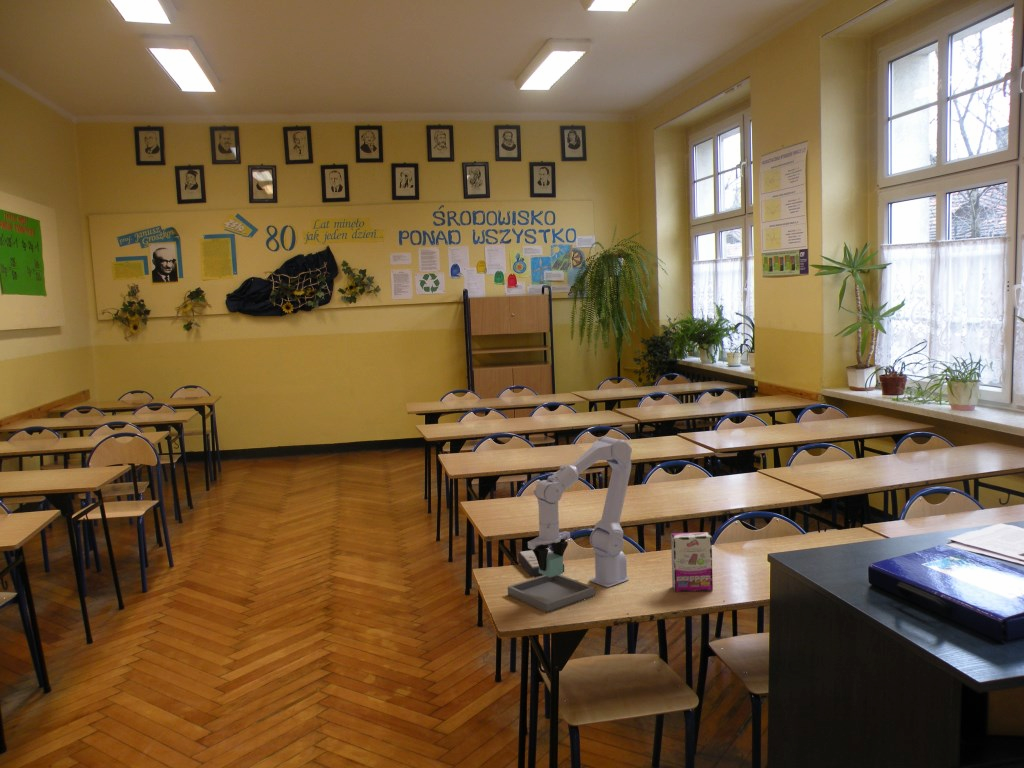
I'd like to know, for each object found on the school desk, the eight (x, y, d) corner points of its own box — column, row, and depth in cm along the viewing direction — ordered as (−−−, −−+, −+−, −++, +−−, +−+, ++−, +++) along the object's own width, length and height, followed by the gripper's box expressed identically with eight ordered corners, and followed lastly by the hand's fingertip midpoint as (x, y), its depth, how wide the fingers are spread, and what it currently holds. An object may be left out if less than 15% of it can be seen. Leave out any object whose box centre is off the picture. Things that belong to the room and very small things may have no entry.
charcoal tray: (554, 579, 236) (553, 571, 236) (594, 596, 222) (594, 587, 222) (507, 594, 225) (507, 586, 225) (547, 613, 211) (547, 604, 211)
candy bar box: (708, 585, 228) (708, 531, 226) (713, 591, 223) (712, 536, 221) (671, 586, 228) (670, 532, 226) (674, 592, 223) (673, 537, 221)
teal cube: (551, 568, 226) (551, 552, 226) (563, 573, 222) (562, 556, 222) (538, 572, 223) (538, 556, 223) (550, 577, 219) (549, 560, 219)
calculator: (531, 566, 239) (517, 550, 253) (531, 580, 240) (518, 562, 254) (564, 562, 242) (549, 546, 256) (564, 575, 243) (549, 558, 257)
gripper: (538, 530, 214) (539, 577, 215) (576, 520, 223) (577, 565, 224) (522, 525, 220) (524, 570, 221) (560, 515, 228) (561, 559, 230)
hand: (550, 567), depth 223 cm, fingers closed on teal cube, 5 cm apart
